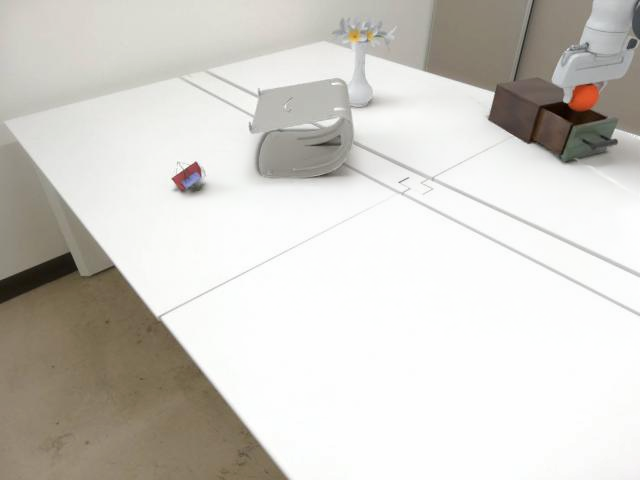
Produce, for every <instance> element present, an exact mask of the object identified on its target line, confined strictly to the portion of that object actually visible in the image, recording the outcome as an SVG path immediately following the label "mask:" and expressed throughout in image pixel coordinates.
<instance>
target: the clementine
mask: <svg viewBox="0 0 640 480" xmlns="http://www.w3.org/2000/svg"><path fill="white" fill-rule="evenodd" d="M595 85H596V84H594V83H589V84H584V85H578V86H575V89H574V90H572V95H574V96H575V97H574V99H573V102H572V103H568V106H569V107H570V108H571V109H573V110H575V111H586V110H589V109H590V108H591V109H593V107H594V106H595V105H596V104H597V103H598V101H599V97H600V94H599V91H598V89H597V87H596V86H595Z"/></svg>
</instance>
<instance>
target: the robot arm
mask: <svg viewBox="0 0 640 480" xmlns="http://www.w3.org/2000/svg"><path fill="white" fill-rule="evenodd" d="M630 28H631V29H632V32H633V34H634V36H633V35H630V34H629V32H630ZM639 45H640V0H593V1H592V7H591V13H590V16H589V17H588V19H587V21H586V22H585V25H584V28H583V31H582V34H581V36H580V40H579V43H578V44H572V45H570V46H569V47H568V48H567V49H566V50H564V52H563V53H562V55H561V56H560V58H559V60H558V62H557V64H556V66H555V69H554V72H553V75H552V77H551V83H552V84H554V85H556V86H558V87H560V88H563V89H564V94H565V95H564V98H563V102H565V103H572V102H573V99H574V97H575V96H574V95H572V90H574V89H575V86H578V85H584V84H589V83H592V84H594V83H595V84H594V85H595V86H596V87H597V89H598V91H599V95H600V93H601V91H603V90H604V88H605V87H606V86H607V85H608V83H609V81H611V80H619V79H621V78H623V77H624V76H625V74H626V73H627V72H628V70H629V68H630V66H631V64H632V61H633V58H634V57H635V56H634V55H635V49H637V48H638V47H639Z"/></svg>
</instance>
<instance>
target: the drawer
mask: <svg viewBox="0 0 640 480" xmlns="http://www.w3.org/2000/svg"><path fill="white" fill-rule="evenodd" d="M619 121H620V119H619V118H617V117H611V118H610V117H609V115H606V114H603V113H602V112H599V111H597V110H595V109H593V108H590V109H589V110H586V111H575V110H573V109H571V108H570V107H569V106H568V103H565V104H560V105H555V106H550V107H545V108H541V109H540V112H539V116H538V119H537V122H536V125H535V128H534V132H533V135H532V139H534V140H536V141H537V142H536V143H539V144H541V145H542V146H544V147H546V148H547V149H549V150H551V151H552V152H554V153H556V154H558V155H560V156H561V155H562V156H561V158H560V159H561V160H562V161H564V162H567V161H571V160H576V159H579V158H583V157H588V156H591V155H597V154H600V153H604V152H606V151H607V148H609V147H613V146H617V145H618V144H619V140H618V139H617V138H612V137H613V135H614V132H615V130H616V128H617V126H618V124H619Z"/></svg>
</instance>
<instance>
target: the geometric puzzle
mask: <svg viewBox="0 0 640 480" xmlns="http://www.w3.org/2000/svg"><path fill="white" fill-rule="evenodd" d="M180 163H181V161H180V162H179V161H177V163H176V165H179V167H181V169H182V170H181V171H180V172H179V173H177V172H178V169H176V170H175V169H174V171H173V172H175V171H176V172H175V175H173V176H172V177H171V178H170V180H172V181H173V183H174V184H175V185H176V187H177V188H178V190H179V191H180V192H184V191H186V189H189V188H190V187H191V186H193V185H194V186H195V187H196V188H197V189H196V190H197V192H199V191H200V190H201V187H202V183H200V185H199V187H197V185H196V183H197V182H198V181H200V180H201V181H203V178H205V177H207V172H206V169H205V168H204V166H203V165H202V164H200V163H199V162H198V161H197V160H195V161H193V163H191V164H188V163H186V165H188V166H187V167H186V168H184V167H183V166H182V165H181V164H180ZM182 164H183V165H185V162H182ZM191 191H194V189H192V188H191Z"/></svg>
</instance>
